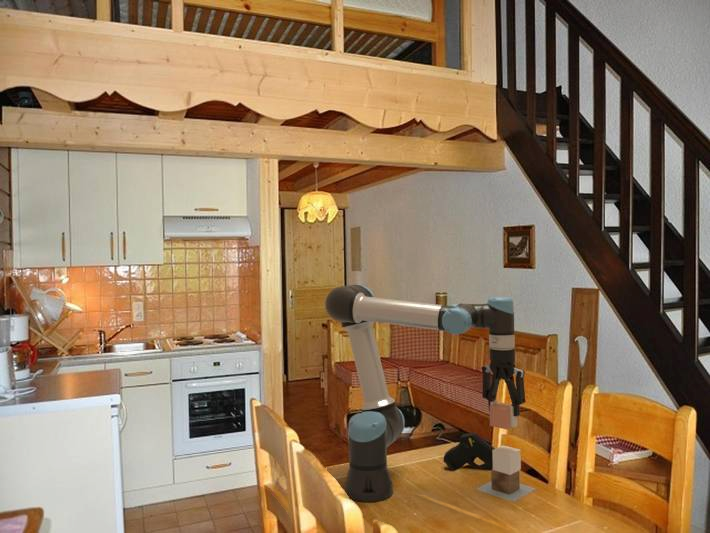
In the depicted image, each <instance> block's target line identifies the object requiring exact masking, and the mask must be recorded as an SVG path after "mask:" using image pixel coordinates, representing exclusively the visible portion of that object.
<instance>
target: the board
mask: <svg viewBox="0 0 710 533" xmlns="http://www.w3.org/2000/svg"><path fill="white" fill-rule="evenodd" d="M534 490H536V487H532V486H529V485H526V484H522V483H520V489H518V490H516V491H515V492H513V493H511V494H510V495H509V494H506V493H502V492H499V491H496V490H493V489H492V482H491V480H490V481H488V482H486V483H485V484H483V485H481V486H479V487H477V488H475V491H479V492H482V493H485V494H488V495H492V496H494V497H497V498H500V499H504V500H506V501H510V502H513V503H514V502H516V501H518V500H520V499H522V498H523V497H525V496H527V494H530V493H531V492H533V491H534Z"/></svg>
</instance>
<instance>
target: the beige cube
mask: <svg viewBox="0 0 710 533" xmlns="http://www.w3.org/2000/svg"><path fill="white" fill-rule="evenodd" d="M521 451H522V450H521V449H519V448H515V447H511V446H507V445H501V446H498V447H496V448H495V449H494V450H492V454H493V470H495V471H498V472H502V473H505V474H509V475H511V474H513V473H515V472H517V471H519V472H520V471H521V470H522V461H521V460H522V458H521V457H522V456H521V455H522V454H521Z"/></svg>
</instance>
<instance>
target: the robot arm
mask: <svg viewBox="0 0 710 533" xmlns="http://www.w3.org/2000/svg"><path fill="white" fill-rule="evenodd" d="M324 305H325V306H324V307H325V310H326V313H327V315H328V316H329V317H330V318H331V319H332V320H334V321H336V322H340V325H341V328H342V330H344V331H346V332H347V335H348V339H349V343H350V347H351V351H352V356H353V360H354V364H355V368H356V372H357V376H358V381H359V385H360V389H361V393H362V398H363V404H362V405H361V407H360V409H361V412H358V413H356V414H354V415H352V416H351V417H350V419H349V421H348V428H347V434H348V457H349V462H348V463H349V467H348V471H347V474H346V480H345V481H344V488H343V489H344V490H345V492H346V493H347V495H348V496H349V497H350V498H351V499H350V498H349V499H350V500H354V501H357V502H363V503H367V502H368V503H373V502H380V501H383V500H386V499H388V498H390V497H391V496H392V495H393V494H394V484H393V480H392V478H391V475H390V472H389V469H388V468H389V467H388V464H387V462H388V460H387V459H388V458H387V453H388V452H387V451H388V450H387V449H388V448H389V446H391V445H392V444H393V443H394V442H396V441H397V440H398V439H399V438H400V436H402V434H403V432H404V429H405V425H406V424H405V423H406V420H405V416H404V413H402V411H401V409H399V408H398V407H397V403H396V400H395V399H394V398H393V397H391V396H390V394H389V390H388V389H389V388H388V386H387V381H386V378H385V373H384V369H383V366H382V362H381V357H380V353H379V349H378V348H379V347H378V345H377V340H376V335H375V332H374V328H373V327H374V326H373V325H374V324H375V323H379V324H388V325H395V326H403V327H410V328H419V329H427V330H435V331H440V332H442V331H443V332H447V333H449V334H451V335H456V336H457V335H463V334H465V333H466V332H467V331H469V330H471V329H488V344H489V347H490V348H489V361H490V362H489V365H488V364H487V365H486V364H485V365H483V366H481V371H482V393H481V395H482V398H483V399H486V400H487V402H488V411H489V412H490V408H489V406H491V405H494V404H497V403H499V402H498V400H497V398H496V397H497V392H498V390H499V385H500V381H501V380H504V381H503V382H504V383H505V384H506V388H507V391H508V394H509V397H510V401H511V403H512V404H511V403H510V404H511V405H510V426H511V428H510V429H513V428H516V427H517V426H519V421H518V422H517V416H518V417H519V416H520V412H521V411H520V406H521V405H523V404H525V403H526V394H525V393H526V391H525V380H524V377H525V374H526V372H525V370H523V369H518V368H517V366H516V363H515V361H516V350H515V349H514V348H515V346H516V345H515V344H516V342H515V339H516V338H515V336H516V335H515V310H514V309H515V308H514V301H513V298H511V297H508V296H506V297H505V296H497V297H496V296H493V297H492V296H491V297H488V299H487V303H453V304H451V305H443V304H436V303H435V304H433V303H426V302H419V301H418V302H417V301H409V300H401V299H399V300H398V299H391V298H390V299H389V298H384V297H375V295H374V293H373V291H372V290H371V289H370V288H368V287H366V286H364V285H362V284H350V285H341V286H337V287H335V288H333V289H332V290H330V291H329V292H328V294H327V295H326V297H325V302H324ZM491 374H492V376H491Z"/></svg>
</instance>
